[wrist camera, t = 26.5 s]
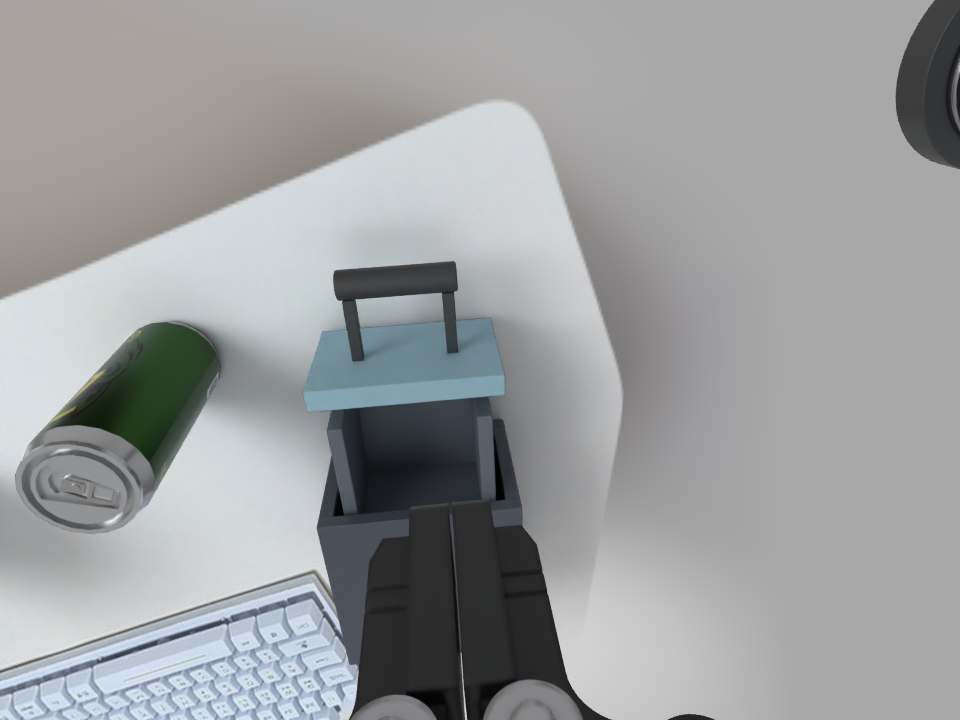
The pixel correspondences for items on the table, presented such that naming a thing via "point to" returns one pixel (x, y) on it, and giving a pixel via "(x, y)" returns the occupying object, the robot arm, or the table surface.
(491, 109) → the table surface
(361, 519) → the dark grey storage bin
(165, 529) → the table surface
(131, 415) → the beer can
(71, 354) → the table surface
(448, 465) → the drawer
